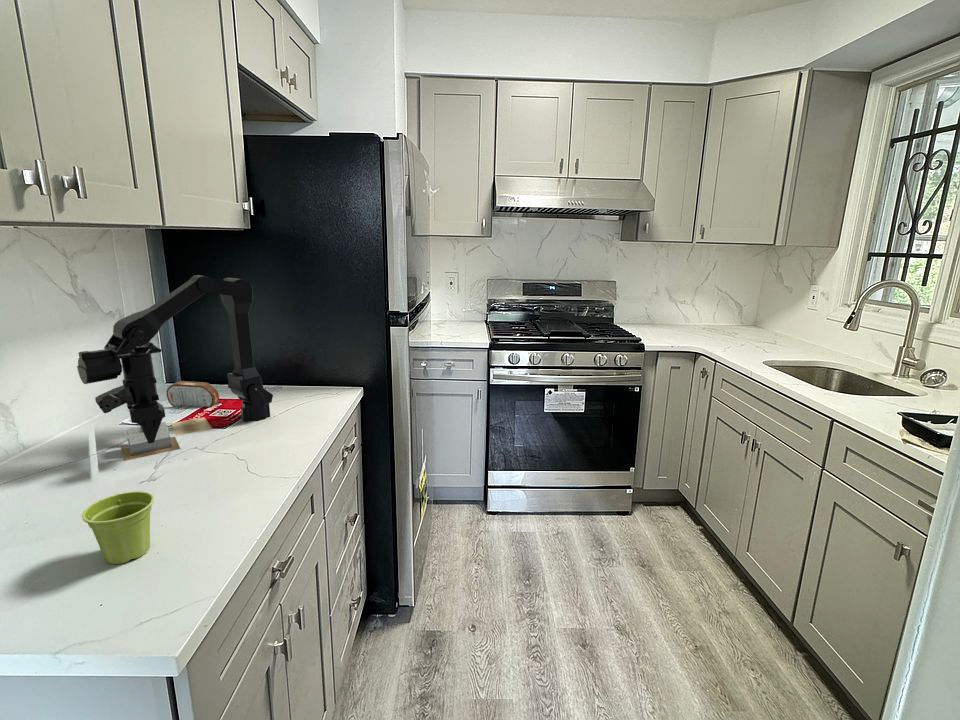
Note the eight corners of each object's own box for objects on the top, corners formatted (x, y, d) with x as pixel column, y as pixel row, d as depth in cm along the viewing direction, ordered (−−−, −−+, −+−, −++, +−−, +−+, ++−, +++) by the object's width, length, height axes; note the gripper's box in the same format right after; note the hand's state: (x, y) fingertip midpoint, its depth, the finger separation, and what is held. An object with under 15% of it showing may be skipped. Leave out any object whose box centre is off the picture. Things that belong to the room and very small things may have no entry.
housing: (129, 448, 116) (125, 428, 115) (168, 440, 121) (166, 421, 120) (131, 456, 112) (127, 435, 111) (172, 447, 117) (169, 427, 116)
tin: (221, 409, 147) (218, 381, 145) (214, 412, 144) (211, 385, 142) (174, 406, 149) (170, 379, 147) (166, 410, 146) (162, 382, 144)
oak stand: (205, 422, 137) (204, 417, 136) (212, 433, 129) (212, 428, 129) (171, 428, 132) (170, 423, 131) (177, 440, 124) (176, 435, 124)
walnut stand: (175, 442, 124) (174, 436, 123) (181, 454, 117) (180, 448, 116) (121, 453, 117) (120, 447, 117) (124, 467, 110) (123, 460, 110)
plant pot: (76, 572, 76) (65, 522, 74) (116, 536, 85) (108, 491, 83) (139, 571, 77) (130, 521, 74) (172, 535, 86) (165, 490, 84)
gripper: (93, 370, 114) (104, 433, 118) (96, 390, 100) (108, 461, 104) (150, 363, 121) (159, 423, 125) (160, 381, 107) (170, 448, 111)
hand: (149, 438), depth 116 cm, fingers open, 7 cm apart
